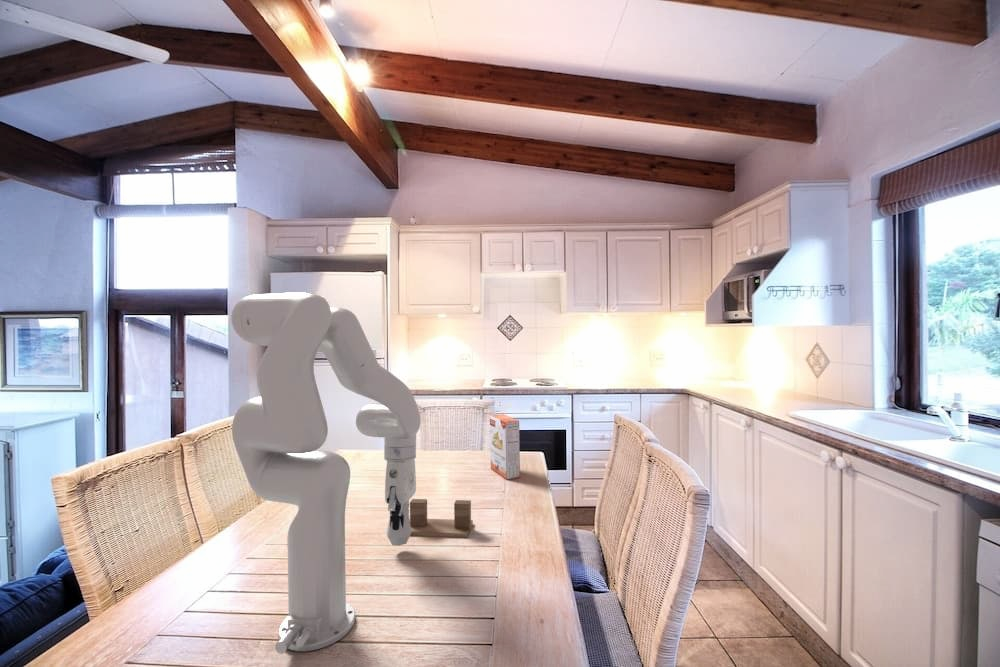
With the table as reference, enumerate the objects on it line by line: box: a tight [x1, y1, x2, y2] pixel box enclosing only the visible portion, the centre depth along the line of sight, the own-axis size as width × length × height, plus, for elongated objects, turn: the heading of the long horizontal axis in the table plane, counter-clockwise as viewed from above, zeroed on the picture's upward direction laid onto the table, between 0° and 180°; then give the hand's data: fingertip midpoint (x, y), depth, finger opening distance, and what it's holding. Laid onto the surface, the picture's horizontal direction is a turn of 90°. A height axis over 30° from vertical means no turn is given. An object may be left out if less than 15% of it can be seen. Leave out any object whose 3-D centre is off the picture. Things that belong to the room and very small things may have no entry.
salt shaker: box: [386, 500, 412, 547], centre depth 106 cm, size 6×6×13 cm
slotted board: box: [409, 498, 474, 538], centre depth 118 cm, size 8×16×8 cm, turn 84°
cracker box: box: [489, 413, 521, 481], centre depth 163 cm, size 14×6×21 cm, turn 25°
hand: (399, 528), depth 106 cm, fingers closed on salt shaker, 3 cm apart
